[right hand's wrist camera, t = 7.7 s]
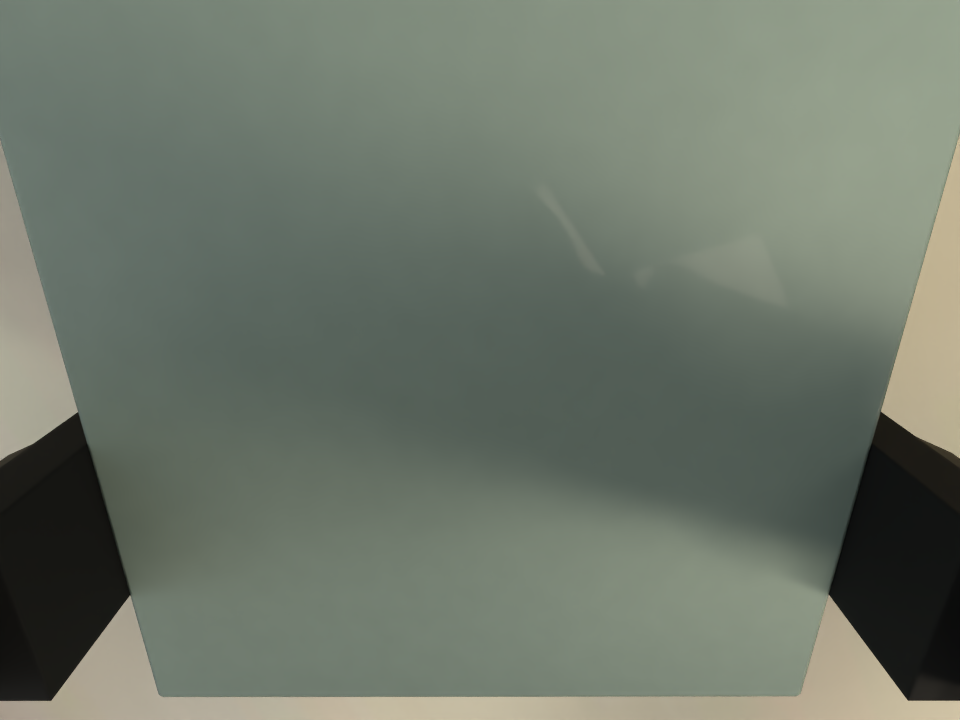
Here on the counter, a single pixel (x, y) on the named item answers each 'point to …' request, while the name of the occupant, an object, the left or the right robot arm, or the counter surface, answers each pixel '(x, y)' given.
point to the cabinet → (479, 323)
